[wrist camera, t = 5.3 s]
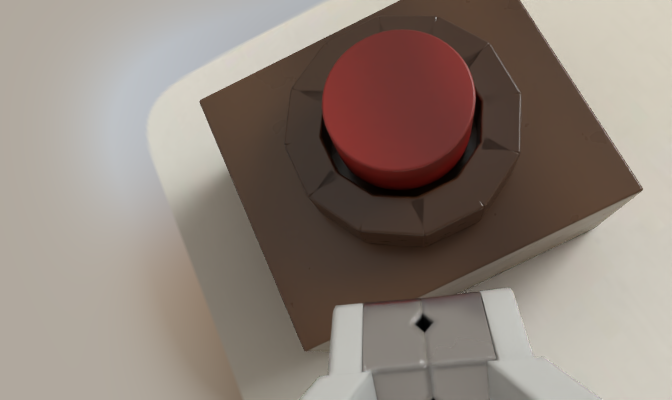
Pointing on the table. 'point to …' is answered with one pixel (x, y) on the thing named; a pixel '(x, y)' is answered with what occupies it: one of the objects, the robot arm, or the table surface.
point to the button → (399, 108)
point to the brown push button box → (430, 200)
